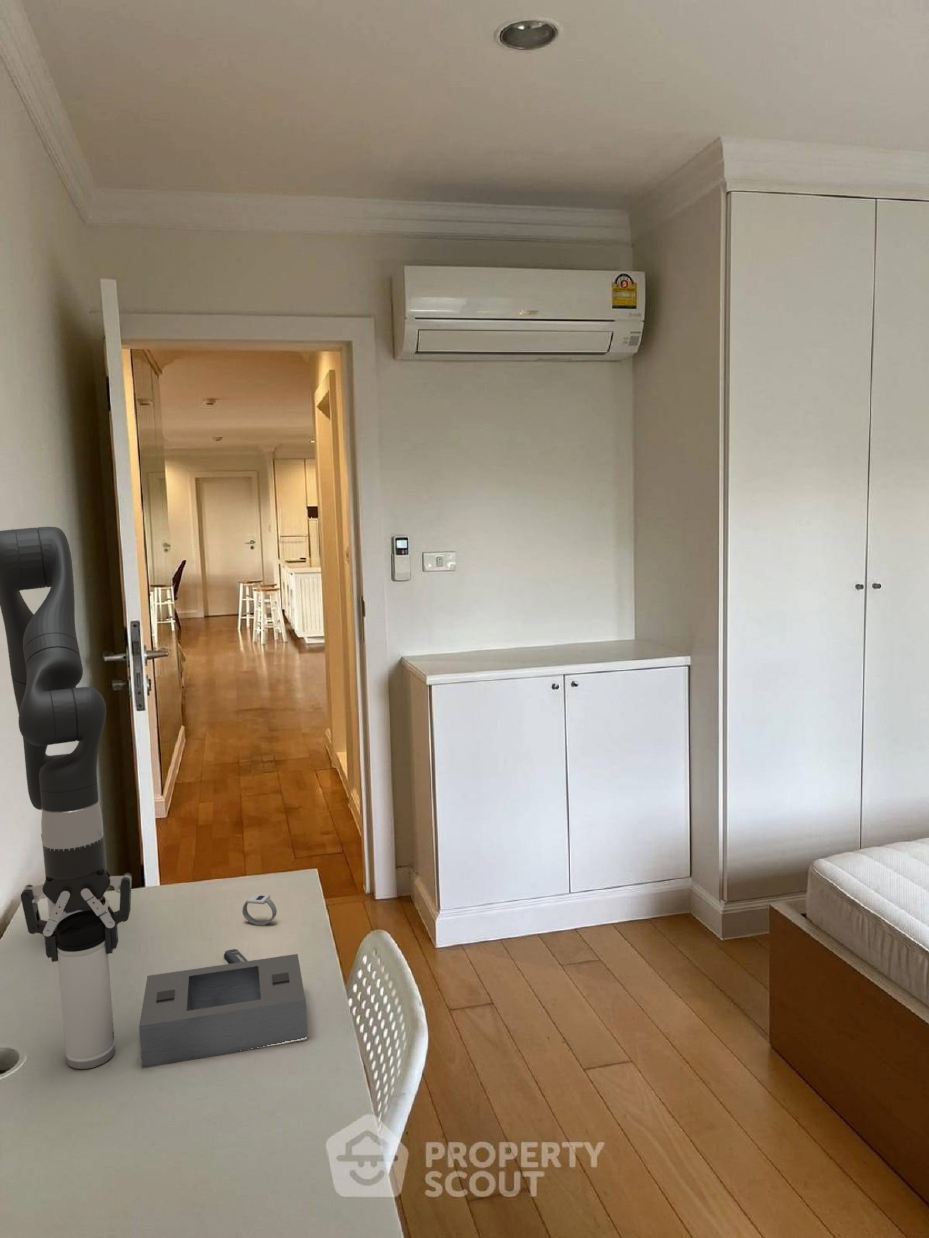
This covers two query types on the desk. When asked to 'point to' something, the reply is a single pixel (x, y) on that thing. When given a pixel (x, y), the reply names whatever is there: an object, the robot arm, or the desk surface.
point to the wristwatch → (259, 900)
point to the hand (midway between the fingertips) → (83, 954)
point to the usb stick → (234, 956)
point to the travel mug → (85, 990)
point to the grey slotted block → (221, 1010)
